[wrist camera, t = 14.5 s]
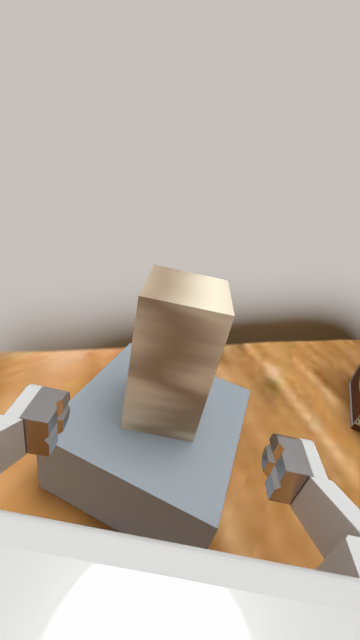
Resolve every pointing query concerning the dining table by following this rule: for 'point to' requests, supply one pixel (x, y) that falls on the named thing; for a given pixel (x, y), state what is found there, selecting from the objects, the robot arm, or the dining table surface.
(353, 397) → the food container
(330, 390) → the dining table surface
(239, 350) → the dining table surface
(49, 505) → the dining table surface
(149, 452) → the slate block
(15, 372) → the dining table surface
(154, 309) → the birch block
